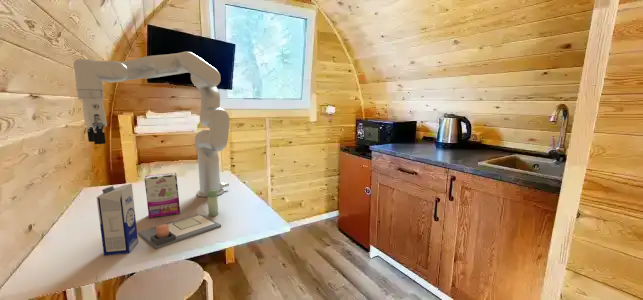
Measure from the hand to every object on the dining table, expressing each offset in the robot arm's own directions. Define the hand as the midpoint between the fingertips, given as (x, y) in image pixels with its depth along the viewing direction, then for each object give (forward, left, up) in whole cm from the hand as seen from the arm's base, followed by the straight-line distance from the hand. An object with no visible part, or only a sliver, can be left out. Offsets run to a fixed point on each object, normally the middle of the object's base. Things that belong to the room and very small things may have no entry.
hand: (97, 142), depth 107 cm
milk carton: (+3, +30, -30) cm, 43 cm away
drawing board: (-15, +30, -30) cm, 45 cm away
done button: (-8, +35, -28) cm, 45 cm away
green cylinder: (-30, +25, -30) cm, 50 cm away
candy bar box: (-17, +10, -30) cm, 36 cm away
